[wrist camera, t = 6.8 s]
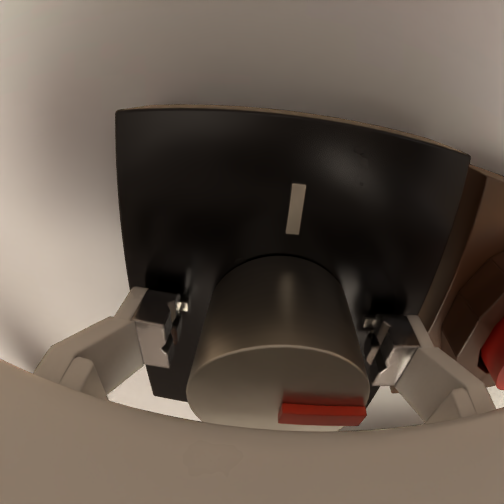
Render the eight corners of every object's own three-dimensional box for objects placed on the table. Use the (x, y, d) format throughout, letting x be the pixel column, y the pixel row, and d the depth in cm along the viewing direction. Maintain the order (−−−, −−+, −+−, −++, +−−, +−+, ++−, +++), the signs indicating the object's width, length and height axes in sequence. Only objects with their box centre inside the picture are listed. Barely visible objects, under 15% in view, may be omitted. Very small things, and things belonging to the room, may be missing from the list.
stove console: (153, 104, 10) (111, 110, 7) (428, 138, 9) (475, 157, 7) (168, 351, 15) (152, 398, 13) (354, 368, 15) (364, 416, 12)
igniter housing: (456, 159, 10) (519, 193, 6) (556, 198, 9) (604, 232, 6) (382, 362, 15) (398, 422, 11) (482, 356, 15) (505, 402, 11)
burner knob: (206, 351, 11) (185, 441, 7) (214, 243, 9) (180, 341, 5) (324, 365, 11) (335, 455, 7) (365, 267, 9) (405, 364, 5)
